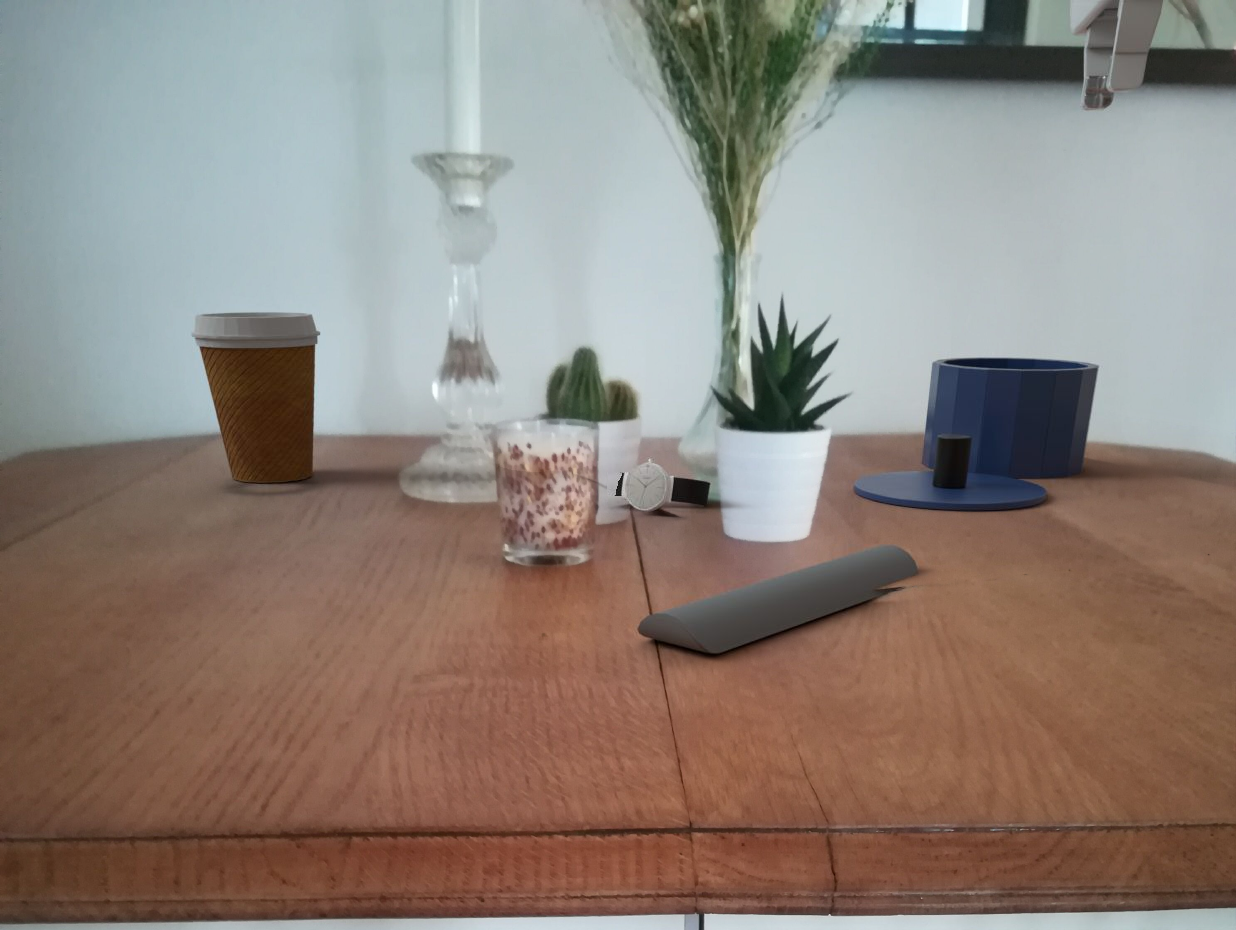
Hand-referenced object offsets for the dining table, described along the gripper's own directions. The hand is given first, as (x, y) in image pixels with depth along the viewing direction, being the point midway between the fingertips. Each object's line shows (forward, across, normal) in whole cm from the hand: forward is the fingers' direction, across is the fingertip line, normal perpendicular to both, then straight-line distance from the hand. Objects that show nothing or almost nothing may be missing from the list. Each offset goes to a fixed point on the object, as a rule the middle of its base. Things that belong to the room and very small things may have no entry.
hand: (1108, 100), depth 75 cm
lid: (+24, +3, +6) cm, 25 cm away
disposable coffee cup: (+26, +3, +59) cm, 64 cm away
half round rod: (+25, -29, +16) cm, 42 cm away
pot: (+25, +18, +1) cm, 30 cm away
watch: (+26, -4, +26) cm, 37 cm away
